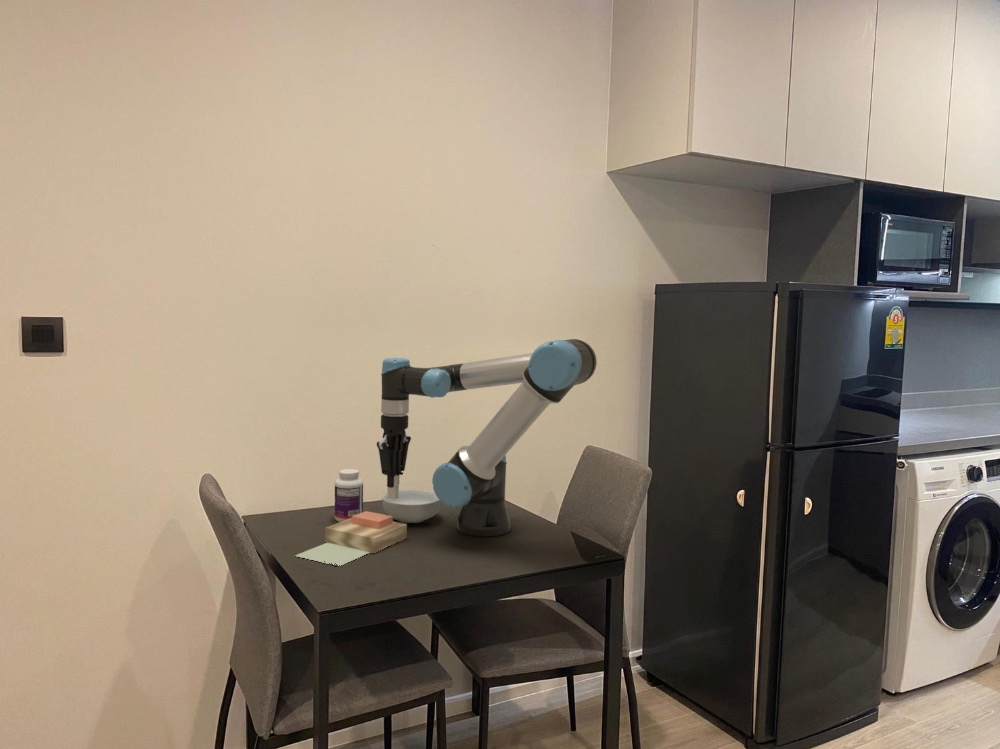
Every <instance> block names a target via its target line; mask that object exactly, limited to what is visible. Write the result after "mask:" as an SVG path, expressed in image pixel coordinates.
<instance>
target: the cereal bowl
mask: <svg viewBox="0 0 1000 749" xmlns="http://www.w3.org/2000/svg"><path fill="white" fill-rule="evenodd" d="M381 498H382V499H381V503H382V508H383V511H384V512H385V515H389V516H393V520H397V522H398V523H403V524H407V523H415V524H420V523H422V522H425V520H428V519H430V518H433V517H434V516H435V515H437V513H439V510H440V507H441V504H442V502H441V501H440V500H439V499H438V497H437V496H436V494H435V492H434V491H429V490H425V489H416V488H415V489H414V488H413V489H411V488H410V489H409V488H407V489H399V494H398V499H391V498H387V492H386V493H384V494H383V495H382V497H381Z"/></svg>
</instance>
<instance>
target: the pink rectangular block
mask: <svg viewBox="0 0 1000 749" xmlns="http://www.w3.org/2000/svg"><path fill="white" fill-rule="evenodd" d="M393 522H394V518H393V516H389V515H387V514H384V513H378V512H373V511H367V510H365V511H363V512H362V513H360V514H357V515H354V516H352V524H355V525H360V526H365V527H370V528H375V529H381V528H383V527H386V526H388V525H391V524H393Z"/></svg>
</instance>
